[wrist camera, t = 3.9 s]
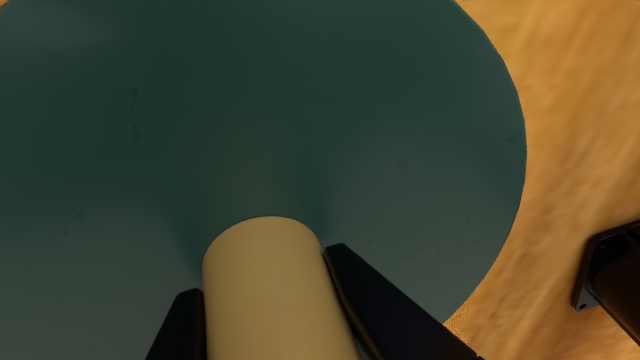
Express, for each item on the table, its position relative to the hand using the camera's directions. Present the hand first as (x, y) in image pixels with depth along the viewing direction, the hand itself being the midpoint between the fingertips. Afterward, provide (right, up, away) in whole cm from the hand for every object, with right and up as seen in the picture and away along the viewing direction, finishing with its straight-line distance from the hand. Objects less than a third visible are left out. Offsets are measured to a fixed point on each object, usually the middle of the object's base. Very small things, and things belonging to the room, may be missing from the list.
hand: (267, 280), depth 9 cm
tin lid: (0, +1, +1) cm, 1 cm away
